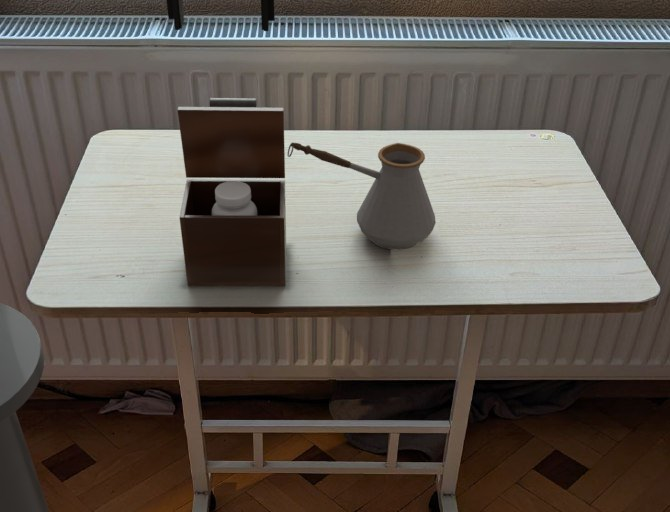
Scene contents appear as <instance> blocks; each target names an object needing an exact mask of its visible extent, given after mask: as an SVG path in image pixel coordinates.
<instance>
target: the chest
mask: <svg viewBox="0 0 670 512" xmlns="http://www.w3.org/2000/svg"><path fill="white" fill-rule="evenodd" d="M228 181H239V182H243V183H246V184H247V185H248V186H249V187H250V189H251V201H252V202H253V203H254V204H255V206H256V208H257V216H236V215H212V208H213V206H214V204H215V203H216V199H215V189H216V187H217V186H218V185H220V184H221V183H224V182H228ZM182 197H183V198H182V203H181V208H180V213H179V224H180V225H179V226H180V234H181V243H182V250H183V258H184V267H185V275H186V284H187V286H188V287H286V284H287V282H286V281H287V279H286V278H287V211H286V209H287V208H286V207H287V206H286V180H285V179H220V178H209V179H208V178H187V179H186V181H185V187H184V192H183V196H182Z"/></svg>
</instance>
